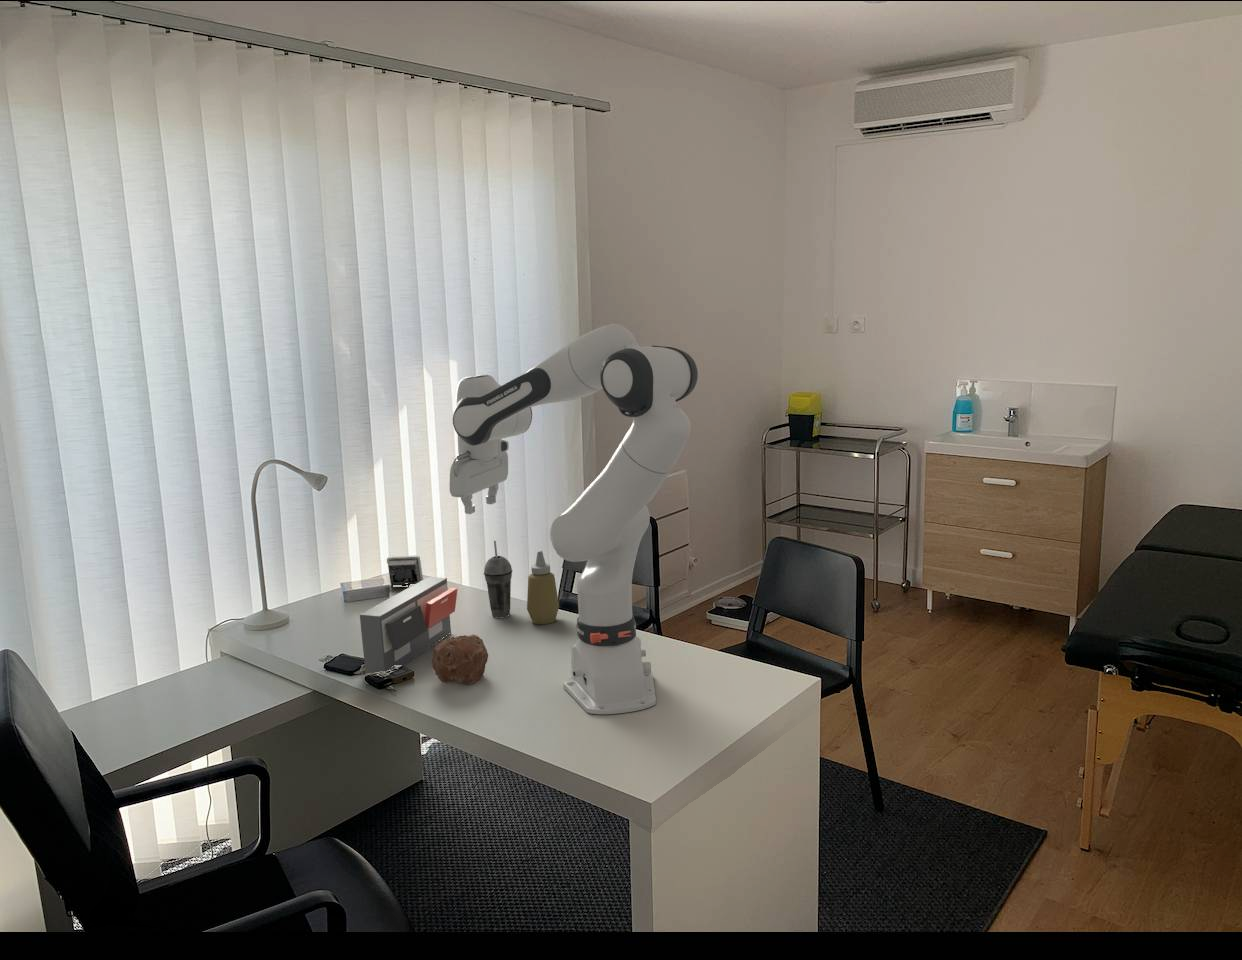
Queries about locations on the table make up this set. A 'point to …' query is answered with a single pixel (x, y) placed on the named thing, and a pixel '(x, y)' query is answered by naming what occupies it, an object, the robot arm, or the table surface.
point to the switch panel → (375, 619)
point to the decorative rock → (460, 659)
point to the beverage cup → (498, 584)
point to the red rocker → (440, 607)
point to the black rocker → (406, 627)
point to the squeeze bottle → (542, 593)
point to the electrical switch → (404, 570)
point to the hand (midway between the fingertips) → (480, 508)
